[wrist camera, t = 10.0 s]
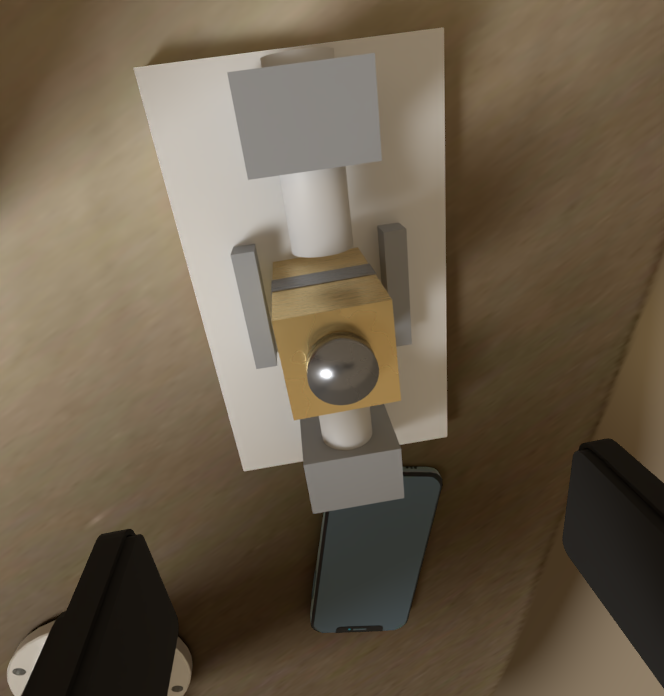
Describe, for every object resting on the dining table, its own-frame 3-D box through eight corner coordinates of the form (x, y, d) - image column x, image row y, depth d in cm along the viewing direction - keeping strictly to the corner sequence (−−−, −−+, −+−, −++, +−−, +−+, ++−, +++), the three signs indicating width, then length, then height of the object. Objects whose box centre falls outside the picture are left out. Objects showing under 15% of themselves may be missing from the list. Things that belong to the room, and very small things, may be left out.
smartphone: (448, 474, 29) (407, 632, 35) (440, 457, 30) (402, 611, 36) (329, 473, 28) (308, 636, 34) (326, 455, 29) (307, 614, 35)
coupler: (358, 246, 21) (398, 307, 14) (367, 325, 23) (407, 413, 16) (271, 261, 21) (270, 330, 14) (288, 339, 23) (293, 434, 16)
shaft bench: (440, 424, 28) (481, 499, 22) (245, 457, 27) (237, 542, 22) (434, 32, 19) (500, -5, 13) (141, 70, 18) (83, 48, 13)
